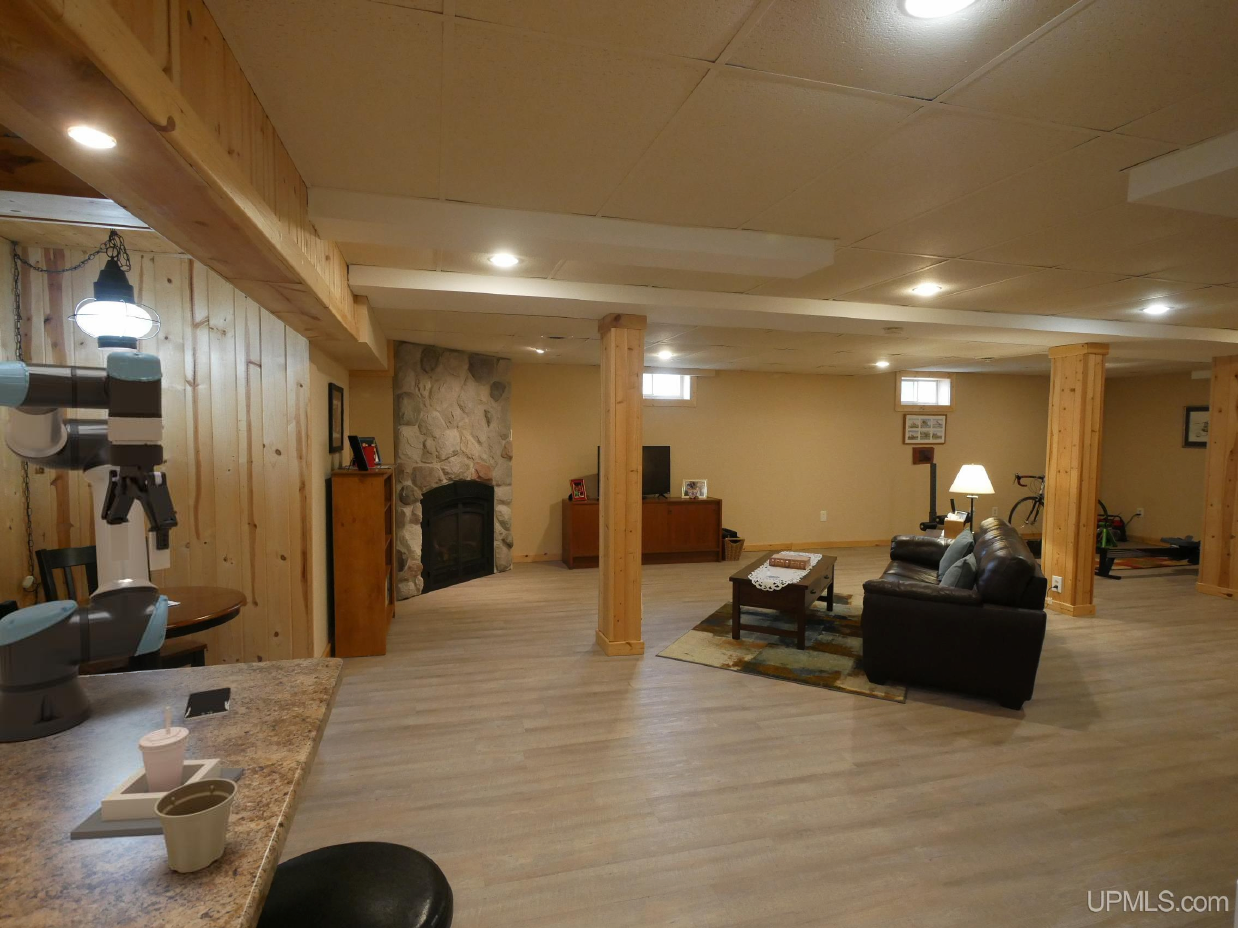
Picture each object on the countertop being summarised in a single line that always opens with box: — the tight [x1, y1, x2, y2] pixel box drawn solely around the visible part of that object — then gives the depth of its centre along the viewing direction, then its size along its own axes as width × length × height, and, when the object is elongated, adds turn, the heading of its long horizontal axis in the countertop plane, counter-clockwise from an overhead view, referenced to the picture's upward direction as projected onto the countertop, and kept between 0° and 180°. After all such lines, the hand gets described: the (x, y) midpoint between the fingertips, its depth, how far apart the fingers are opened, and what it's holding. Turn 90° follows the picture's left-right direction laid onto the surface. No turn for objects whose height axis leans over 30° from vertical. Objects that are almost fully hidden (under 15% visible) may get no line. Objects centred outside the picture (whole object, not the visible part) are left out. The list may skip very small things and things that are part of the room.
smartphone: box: [183, 686, 232, 723], centre depth 134 cm, size 8×1×15 cm
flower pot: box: [154, 778, 238, 874], centre depth 86 cm, size 9×9×9 cm
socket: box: [69, 758, 245, 840], centre depth 98 cm, size 16×16×4 cm
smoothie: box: [138, 706, 190, 793], centre depth 98 cm, size 6×6×14 cm
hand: (139, 564), depth 111 cm, fingers open, 13 cm apart
